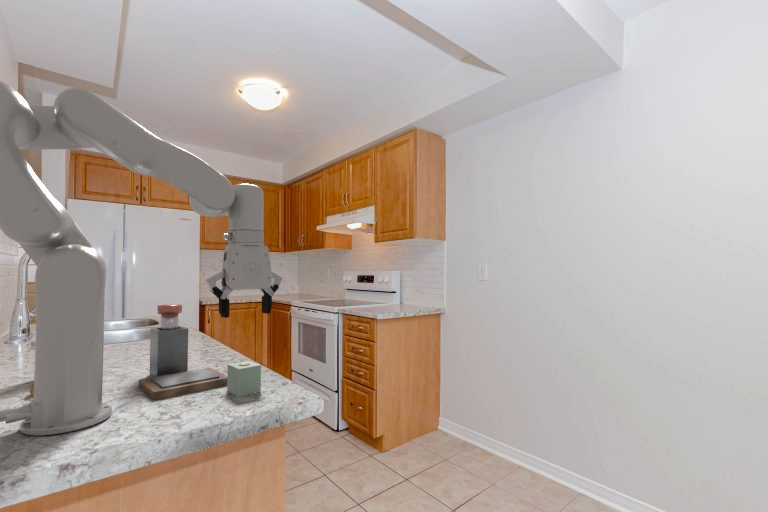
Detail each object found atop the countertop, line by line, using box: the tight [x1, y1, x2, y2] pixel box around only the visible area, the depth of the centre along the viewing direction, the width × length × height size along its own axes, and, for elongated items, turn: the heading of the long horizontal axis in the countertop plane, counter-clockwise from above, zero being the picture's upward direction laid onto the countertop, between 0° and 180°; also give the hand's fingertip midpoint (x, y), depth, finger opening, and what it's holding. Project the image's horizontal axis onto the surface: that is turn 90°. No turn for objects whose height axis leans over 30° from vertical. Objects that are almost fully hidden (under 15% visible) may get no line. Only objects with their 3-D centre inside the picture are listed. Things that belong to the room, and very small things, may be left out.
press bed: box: [138, 367, 227, 401], centre depth 90 cm, size 16×13×2 cm
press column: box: [149, 325, 189, 377], centre depth 100 cm, size 7×7×12 cm
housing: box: [226, 360, 262, 398], centre depth 86 cm, size 5×6×6 cm
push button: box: [157, 303, 183, 331], centre depth 100 cm, size 6×6×9 cm
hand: (246, 315), depth 87 cm, fingers open, 9 cm apart
